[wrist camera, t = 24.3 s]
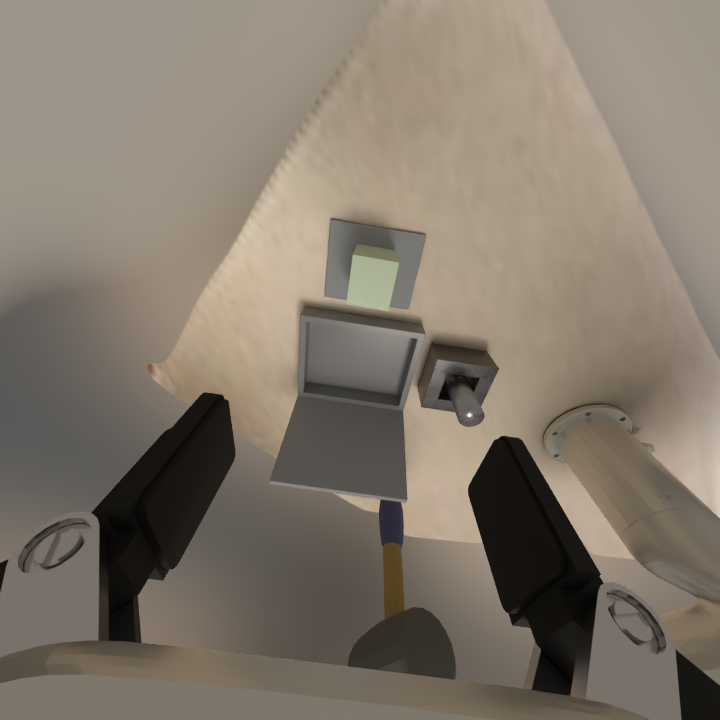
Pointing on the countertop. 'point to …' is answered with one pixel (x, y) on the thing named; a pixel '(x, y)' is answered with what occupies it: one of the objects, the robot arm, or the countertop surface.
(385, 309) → the block
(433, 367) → the square socket block
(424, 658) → the rubber mallet
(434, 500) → the countertop surface
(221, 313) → the countertop surface
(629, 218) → the countertop surface
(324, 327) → the case
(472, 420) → the rod
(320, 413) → the lid
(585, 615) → the robot arm
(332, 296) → the mat
